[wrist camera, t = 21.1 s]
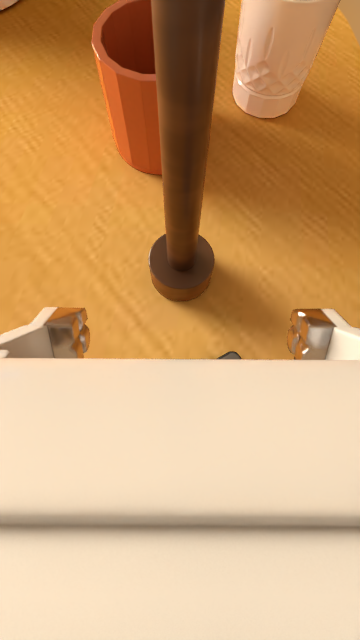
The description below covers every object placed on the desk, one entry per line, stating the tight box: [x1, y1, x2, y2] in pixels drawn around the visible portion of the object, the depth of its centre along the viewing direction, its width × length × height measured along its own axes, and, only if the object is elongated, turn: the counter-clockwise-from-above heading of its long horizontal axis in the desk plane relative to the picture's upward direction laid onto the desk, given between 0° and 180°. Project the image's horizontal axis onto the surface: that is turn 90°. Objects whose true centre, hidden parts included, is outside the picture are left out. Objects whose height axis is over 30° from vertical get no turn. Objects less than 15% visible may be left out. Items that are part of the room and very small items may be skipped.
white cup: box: [232, 0, 340, 118], centre depth 29 cm, size 8×8×10 cm
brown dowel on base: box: [149, 0, 225, 301], centre depth 18 cm, size 5×5×21 cm
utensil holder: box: [91, 0, 162, 175], centre depth 28 cm, size 9×9×9 cm
